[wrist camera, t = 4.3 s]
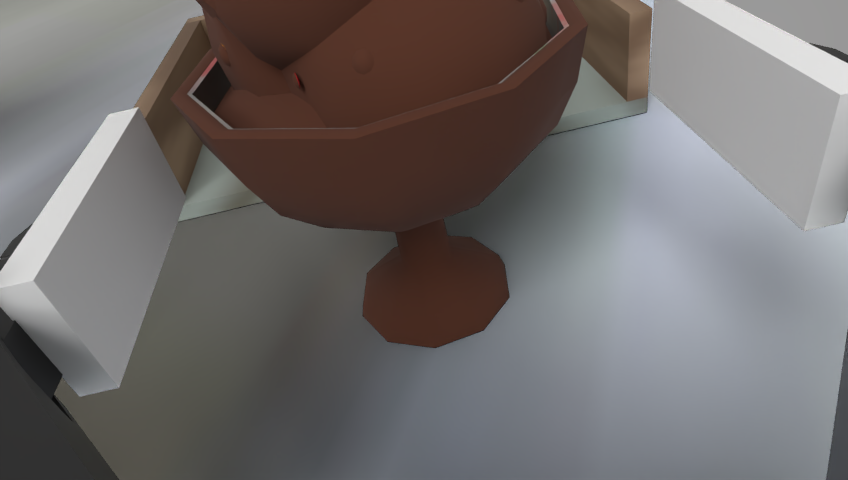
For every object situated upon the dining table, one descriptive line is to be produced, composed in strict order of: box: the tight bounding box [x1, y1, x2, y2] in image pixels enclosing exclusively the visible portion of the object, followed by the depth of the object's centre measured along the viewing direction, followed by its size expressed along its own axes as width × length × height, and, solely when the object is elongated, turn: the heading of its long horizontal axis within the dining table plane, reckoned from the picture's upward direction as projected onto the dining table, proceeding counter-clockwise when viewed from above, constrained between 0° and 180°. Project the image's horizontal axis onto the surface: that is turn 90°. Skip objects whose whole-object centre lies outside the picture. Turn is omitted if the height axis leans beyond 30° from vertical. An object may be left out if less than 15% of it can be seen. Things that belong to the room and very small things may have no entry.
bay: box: [134, 0, 652, 222], centre depth 34 cm, size 24×17×5 cm
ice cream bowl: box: [170, 0, 588, 348], centre depth 17 cm, size 11×11×15 cm
